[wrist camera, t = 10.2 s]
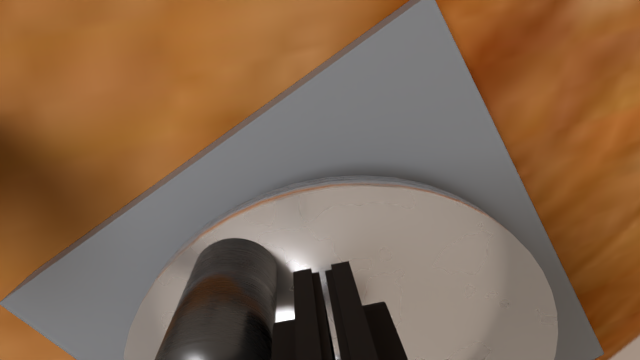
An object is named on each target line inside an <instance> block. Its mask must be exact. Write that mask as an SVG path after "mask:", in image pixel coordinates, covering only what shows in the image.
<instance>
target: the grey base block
mask: <svg viewBox="0 0 640 360" xmlns="http://www.w3.org/2000/svg"><path fill="white" fill-rule="evenodd" d="M356 175H365V176H381V177H394V178H399V179H404V180H409V181H415V182H420V183H424V184H427V185H430V186H433V187H436V188H439V189H442V190H445V191H448V192H450V193H452V194H454V195H456V196H458V197H460V198H462V199H464V200H466V201H468V202H470V203H472V204H474V205H476V206H477V207H478V208H480V209H481V210H483V211H484V212H485V213H487V214H488V215H489V216H491V217H492V218H494V219H495V220H496V221H497V222H499V223H500V224H501V225H502V226H503V227H504V228H506V229H507V230H508V231H509V232H510V233H511V234H513V235H514V236H515V237H516V238H517V239H518V240H519V242H520V243H521V244H522V245H523V246H524V247H525V248H526V249H527V250H528V251H529V252H530V253H531V254H532V256H533V257H534V259H535V260H536V262H537V263H538V265H539V266H540V268H541V269H542V270H543V272H544V274H545V277H546V279H547V281H548V283H549V286H550V288H551V290H552V293H553V297H554V302H555V306H556V310H557V321H558V338H557V346H556V354H555V358H554V360H594V359H596V358H598V357H600V356H601V355H603V354H604V352H603V350H602V348H601V346H600V344H599V342H598V340H597V337H596V335H595V333H594V331H593V329H592V327H591V325H590V323H589V321H588V319H587V317H586V315H585V312H584V310H583V308H582V306H581V304H580V302H579V300H578V298H577V296H576V294H575V292H574V289H573V287H572V285H571V283H570V281H569V279H568V277H567V275H566V273H565V271H564V269H563V267H562V264H561V262H560V260H559V258H558V256H557V254H556V252H555V250H554V248H553V246H552V244H551V241H550V239H549V237H548V235H547V233H546V231H545V229H544V227H543V225H542V223H541V221H540V219H539V216H538V214H537V212H536V210H535V208H534V206H533V204H532V202H531V200H530V198H529V196H528V193H527V191H526V189H525V187H524V185H523V183H522V181H521V179H520V177H519V175H518V173H517V171H516V168H515V166H514V164H513V162H512V160H511V158H510V156H509V154H508V152H507V150H506V148H505V145H504V143H503V141H502V139H501V137H500V135H499V133H498V131H497V129H496V127H495V125H494V123H493V120H492V118H491V116H490V114H489V112H488V110H487V108H486V106H485V104H484V102H483V100H482V97H481V95H480V93H479V91H478V89H477V87H476V85H475V83H474V81H473V79H472V77H471V75H470V72H469V70H468V68H467V66H466V64H465V62H464V60H463V58H462V56H461V54H460V52H459V49H458V47H457V45H456V43H455V41H454V39H453V37H452V35H451V33H450V31H449V29H448V27H447V24H446V22H445V20H444V18H443V16H442V14H441V12H440V10H439V8H438V6H437V4H436V1H435V0H410V1H408V2H407V3H406V4H404V5H403V6H402V7H400V8H399V9H397V10H396V11H395V12H393V13H392V14H390V15H389V16H388V17H386V18H385V19H383V20H382V21H381V22H379V23H378V24H377V25H375V26H374V27H372V28H371V29H370V30H368V31H367V32H365V33H364V34H363V35H361V36H360V37H359V38H357V39H356V40H354V41H353V42H352V43H350V44H349V45H347V46H346V47H345V48H343V49H342V50H340V51H339V52H338V53H336V54H335V55H334V56H332V57H331V58H329V59H328V60H327V61H325V62H324V63H322V64H321V65H320V66H318V67H317V68H316V69H314V70H313V71H311V72H310V73H309V74H307V75H306V76H304V77H303V78H302V79H300V80H299V81H298V82H296V83H295V84H293V85H292V86H291V87H289V88H288V89H286V90H285V91H284V92H282V93H281V94H279V95H278V96H277V97H275V98H274V99H273V100H271V101H270V102H268V103H267V104H266V105H264V106H263V107H261V108H260V109H259V110H257V111H256V112H255V113H253V114H252V115H250V116H249V117H248V118H246V119H245V120H243V121H242V122H241V123H239V124H238V125H237V126H235V127H234V128H232V129H231V130H230V131H228V132H227V133H225V134H224V135H223V136H221V137H220V138H218V139H217V140H216V141H214V142H213V143H212V144H210V145H209V146H207V147H206V148H205V149H203V150H202V151H200V152H199V153H198V154H196V155H195V156H194V157H192V158H191V159H189V160H188V161H187V162H185V163H184V164H182V165H181V166H180V167H178V168H177V169H175V170H174V171H173V172H171V173H170V174H169V175H167V176H166V177H164V178H163V179H162V180H160V181H159V182H157V183H156V184H155V185H153V186H152V187H151V188H149V189H148V190H146V191H145V192H144V193H142V194H141V195H139V196H138V197H137V198H135V199H134V200H133V201H131V202H130V203H128V204H127V205H126V206H124V207H123V208H121V209H120V210H119V211H117V212H116V213H114V214H113V215H112V216H110V217H109V218H108V219H106V220H105V221H103V222H102V223H101V224H99V225H98V226H96V227H95V228H94V229H92V230H91V231H90V232H88V233H87V234H85V235H84V236H83V237H81V238H80V239H78V240H77V241H76V242H74V243H73V244H72V245H70V246H69V247H67V248H66V249H65V250H63V251H62V252H60V253H59V254H58V255H56V256H55V257H53V258H52V259H51V260H49V261H48V262H47V263H45V264H44V265H42V266H41V267H40V268H38V269H37V270H35V271H34V272H33V273H32V274H31V275H30V276H28V277H27V278H26V279H25V280H24V281H23V282H22V283H21V284H20V285H18V286H17V287H16V288H15V289H14V290H13V291H12V292H11V293H10V294H8V295H7V296H6V297H5V298H4V299H3V300H2V301H1V302H0V305H2V306H3V307H4V308H6V309H7V310H8V311H10V312H11V313H13V314H14V315H15V316H17V317H18V318H20V319H21V320H22V321H24V322H25V323H27V324H28V325H29V326H31V327H32V328H34V329H35V330H36V331H38V332H39V333H41V334H42V335H43V336H45V337H46V338H47V339H49V340H50V341H52V342H53V343H54V344H56V345H57V346H59V347H60V348H61V349H63V350H64V351H66V352H67V353H68V354H70V355H71V356H73V357H74V358H75V359H77V360H124V351H125V346H126V342H127V338H128V334H129V330H130V327H131V325H132V322H133V320H134V318H135V316H136V313H137V311H138V309H139V307H140V304H141V303H142V301H143V299H144V297H145V295H146V294H147V292H148V290H149V288H150V287H151V285H152V283H153V282H154V280H155V279H156V277H157V276H158V274H159V273H160V271H161V270H162V268H163V267H164V265H165V264H166V262H167V261H168V260H169V259H170V258H171V257H172V256H173V255H174V253H175V252H176V251H177V250H178V249H179V248H180V247H181V246H182V245H183V244H184V242H186V241H187V240H188V239H189V238H190V237H192V236H193V235H194V234H195V233H196V232H198V231H199V230H200V229H201V228H202V227H204V226H205V225H206V224H207V223H209V222H210V221H212V220H214V219H215V218H217V217H218V216H220V215H222V214H223V213H225V212H226V211H228V210H230V209H231V208H233V207H235V206H237V205H239V204H241V203H243V202H246V201H248V200H250V199H252V198H254V197H256V196H259V195H261V194H263V193H266V192H269V191H272V190H275V189H279V188H282V187H285V186H288V185H291V184H295V183H299V182H305V181H310V180H316V179H321V178H327V177H340V176H356Z"/></svg>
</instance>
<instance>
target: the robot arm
mask: <svg viewBox="0 0 640 360" xmlns="http://www.w3.org/2000/svg"><path fill="white" fill-rule="evenodd" d="M331 268H332V269H331V270H326V271H325V275H326V280H327V286H328V291H329V297H330V302H331V308H332V313H333V319H334V324H335V330H336V335H337V341H338V346H339V352H340V357H341V360H408V358H407V355H406V353H405V350H404V348H403V345H402V343H401V340H400V338H399V335H398V333H397V330H396V328H395V325H394V323H393V320H392V317H391V315H390V312H389V310H388V307H387V305H386V303H385V302H384V301H383V302H378V303H373V304H368V305H363V306H362V303H361V300H360V296H359V293H358V290H357V286H356V283H355V280H354V276H353V273H352V270H351V266H350V263H349V261H346V262H341V263H336V264H331ZM293 287H294V313H295V319H292V320H286V321H281V322H276V323H274V324H273V329H272V353H271V360H336V359H335V353H334V347H333V342H332V336H331V331H330V326H329V321H328V315H327V310H326V305H325V300H324V295H323V289H322V284H321V279H320V274H319V272H315V273H312V270H311V268H310V269H304V270H299V271H294V272H293Z"/></svg>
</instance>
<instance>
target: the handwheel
mask: <svg viewBox="0 0 640 360" xmlns="http://www.w3.org/2000/svg"><path fill="white" fill-rule="evenodd" d="M346 261H349V263H350V266H351V270H352V273H353V276H354V280H355V283H356V286H357V290H358V293H359V296H360V300H361V303H362V306H363V305H368V304H373V303H378V302H383V301H384V302H385V303H386V305H387V307H388V310H389V312H390V315H391V317H392V320H393V323H394V325H395V328H396V330H397V333H398V335H399V338H400V340H401V343H402V345H403V348H404V350H405V353H406V355H407V358H408V360H554V358H555V354H556V346H557V338H558V321H557V310H556V306H555V302H554V297H553V293H552V290H551V288H550V286H549V283H548V281H547V279H546V277H545V274H544V272H543V270H542V269H541V268H540V266H539V265H538V263H537V262H536V260H535V259H534V257H533V256H532V254H531V253H530V252H529V251H528V250H527V249H526V248H525V247H524V246H523V245H522V244H521V243H520V242H519V240H518V239H517V238H516V237H515V236H514V235H513V234H511V233H510V232H509V231H508V230H507V229H506V228H504V227H503V226H502V225H501V224H500V223H499V222H497V221H496V220H495V219H494V218H492V217H491V216H489V215H488V214H487V213H485V212H484V211H483V210H481V209H480V208H478V207H477V206H476V205H474V204H472V203H470V202H468V201H466V200H464V199H462V198H460V197H458V196H456V195H454V194H452V193H450V192H448V191H445V190H442V189H439V188H436V187H433V186H430V185H427V184H424V183H420V182H415V181H409V180H404V179H399V178H394V177H381V176H365V175H356V176H340V177H327V178H321V179H316V180H310V181H305V182H299V183H295V184H291V185H288V186H285V187H282V188H279V189H275V190H272V191H269V192H266V193H263V194H261V195H259V196H256V197H254V198H252V199H250V200H248V201H246V202H243V203H241V204H239V205H237V206H235V207H233V208H231V209H230V210H228V211H226V212H225V213H223V214H222V215H220V216H218V217H217V218H215V219H214V220H212V221H210V222H209V223H207V224H206V225H205V226H204V227H202V228H201V229H200V230H199V231H198V232H196V233H195V234H194V235H193V236H192V237H190V238H189V239H188V240H187V241H186V242H184V244H183V245H182V246H181V247H180V248H179V249H178V250H177V251H176V252H175V253H174V255H173V256H172V257H171V258H170V259H169V260H168V261H167V262H166V264H165V265H164V267H163V268H162V270H161V271H160V273H159V274H158V276H157V277H156V279H155V280H154V282H153V283H152V285H151V287H150V288H149V290H148V292H147V294H146V295H145V297H144V299H143V301H142V303H141V304H140V307H139V309H138V311H137V313H136V316H135V318H134V320H133V322H132V325H131V327H130V330H129V334H128V338H127V342H126V346H125V351H124V360H271V353H272V329H273V324H274V323H276V322H281V321H286V320H292V319H295V313H294V287H293V272H294V271H299V270H304V269H310V268H311V270H312V273H315V272H319V274H320V279H321V284H322V289H323V295H324V300H325V305H326V310H327V315H328V321H329V326H330V331H331V336H332V342H333V347H334V353H335V359H336V360H341V357H340V352H339V346H338V341H337V335H336V330H335V324H334V319H333V313H332V308H331V302H330V297H329V291H328V286H327V280H326V275H325V271H326V270H331V269H332V268H331V264H336V263H341V262H346Z"/></svg>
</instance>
